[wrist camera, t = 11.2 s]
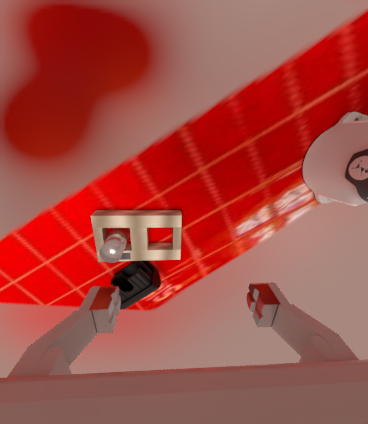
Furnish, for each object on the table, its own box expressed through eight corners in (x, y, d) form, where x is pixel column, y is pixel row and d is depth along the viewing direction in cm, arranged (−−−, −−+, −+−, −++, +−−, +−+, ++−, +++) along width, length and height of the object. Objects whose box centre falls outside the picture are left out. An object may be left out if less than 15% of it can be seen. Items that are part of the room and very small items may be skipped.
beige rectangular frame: (180, 210, 40) (181, 215, 37) (179, 251, 44) (180, 260, 41) (96, 210, 38) (90, 216, 35) (102, 253, 42) (98, 262, 39)
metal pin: (129, 224, 40) (120, 244, 32) (130, 240, 41) (122, 262, 34) (111, 224, 39) (97, 244, 32) (113, 240, 41) (101, 263, 33)
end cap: (131, 291, 47) (126, 314, 41) (112, 275, 44) (103, 297, 38) (161, 272, 46) (161, 293, 39) (143, 254, 43) (139, 273, 37)
